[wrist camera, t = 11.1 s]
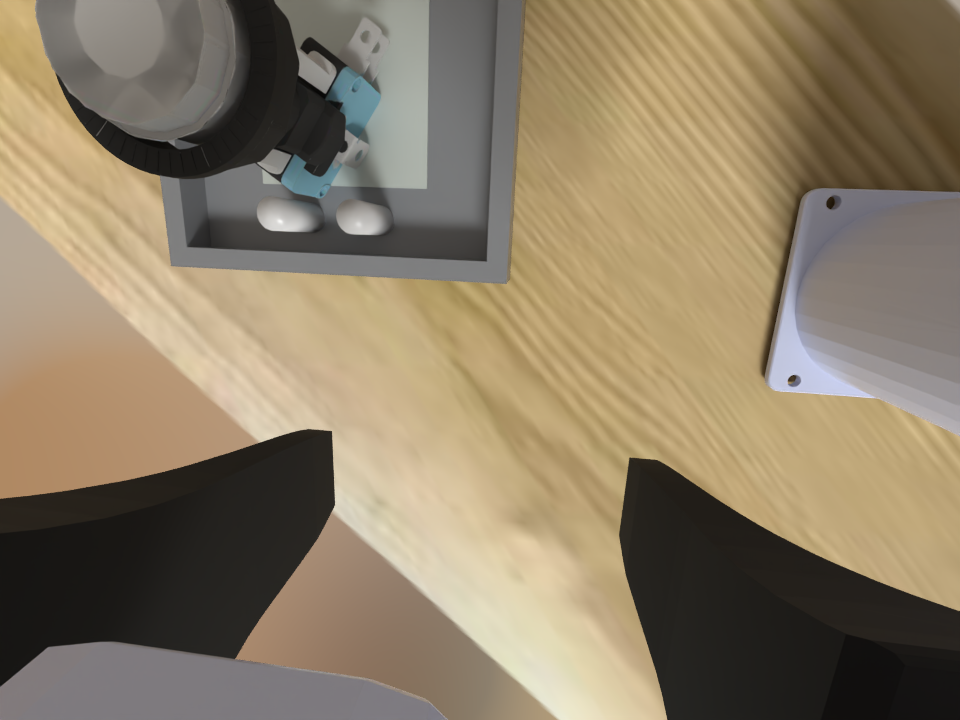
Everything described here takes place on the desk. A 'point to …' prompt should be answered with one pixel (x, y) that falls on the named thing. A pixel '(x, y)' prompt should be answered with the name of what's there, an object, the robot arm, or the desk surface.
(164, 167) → the push button
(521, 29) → the pin tray
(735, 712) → the robot arm
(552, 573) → the desk surface
